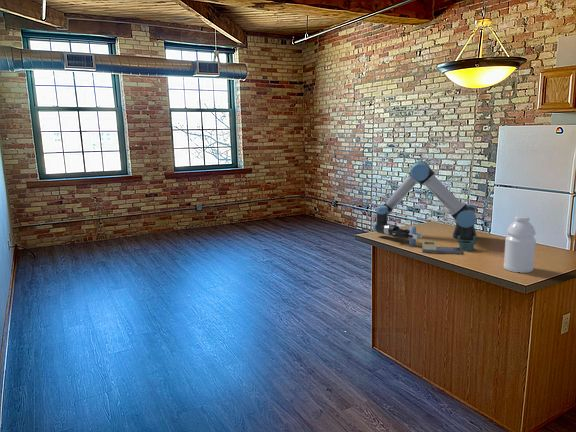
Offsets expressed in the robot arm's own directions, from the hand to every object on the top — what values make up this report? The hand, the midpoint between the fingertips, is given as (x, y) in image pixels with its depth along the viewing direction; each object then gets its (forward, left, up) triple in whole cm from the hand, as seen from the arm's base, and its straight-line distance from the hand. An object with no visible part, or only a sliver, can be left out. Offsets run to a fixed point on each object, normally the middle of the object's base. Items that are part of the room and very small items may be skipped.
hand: (419, 236), depth 269 cm
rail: (-13, +10, -6) cm, 17 cm away
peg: (+4, -3, -6) cm, 8 cm away
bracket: (-28, +2, -7) cm, 29 cm away
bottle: (-50, +37, -7) cm, 62 cm away
